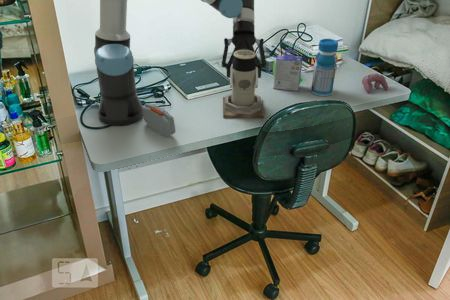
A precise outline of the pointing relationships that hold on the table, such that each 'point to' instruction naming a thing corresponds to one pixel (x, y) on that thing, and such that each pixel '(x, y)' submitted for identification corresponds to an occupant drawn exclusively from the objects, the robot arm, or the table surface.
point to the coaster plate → (242, 108)
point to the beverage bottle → (325, 68)
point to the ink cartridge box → (287, 71)
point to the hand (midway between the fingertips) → (243, 86)
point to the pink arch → (371, 78)
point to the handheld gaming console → (158, 120)
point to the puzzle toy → (274, 67)
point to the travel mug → (243, 78)
